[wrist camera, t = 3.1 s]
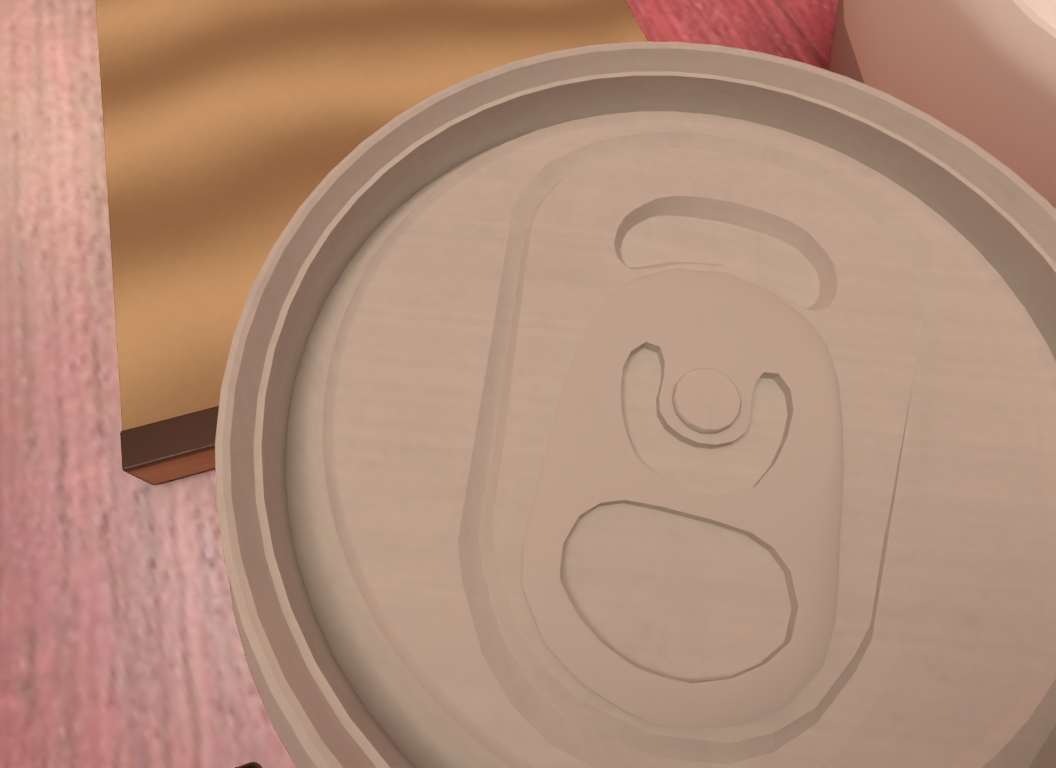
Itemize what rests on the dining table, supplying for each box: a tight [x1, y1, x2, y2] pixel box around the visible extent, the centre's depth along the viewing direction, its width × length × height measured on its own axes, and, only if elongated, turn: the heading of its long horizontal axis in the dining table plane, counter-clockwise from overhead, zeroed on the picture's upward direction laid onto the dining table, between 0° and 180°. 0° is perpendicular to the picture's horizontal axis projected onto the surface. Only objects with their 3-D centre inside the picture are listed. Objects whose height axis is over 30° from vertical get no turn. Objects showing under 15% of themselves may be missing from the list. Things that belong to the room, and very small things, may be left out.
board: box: [96, 0, 648, 485], centre depth 24 cm, size 30×20×2 cm, turn 17°
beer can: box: [215, 42, 1056, 768], centre depth 10 cm, size 6×6×15 cm
